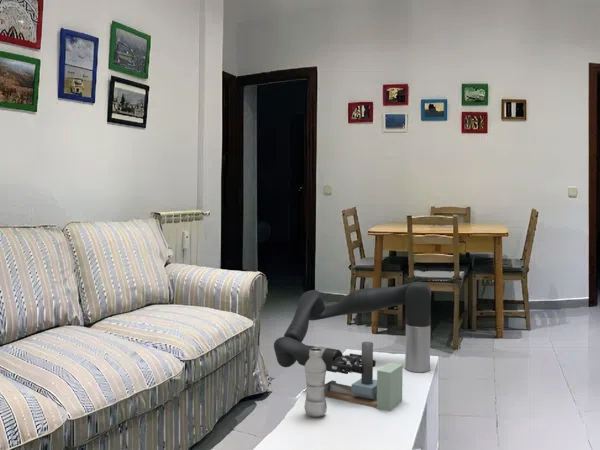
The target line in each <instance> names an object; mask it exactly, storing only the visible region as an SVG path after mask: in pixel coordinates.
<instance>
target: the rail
mask: <svg viewBox="0 0 600 450" xmlns="http://www.w3.org/2000/svg"><path fill="white" fill-rule="evenodd" d="M324 386H325V388H324V389H325V398H331V399H336V400H340V401H343V402H344V401H345V402H349V403H353V404H359V405H363V406H366V407H367V406H368V407H372V408H376V409H377V393H375V398H374V399H372V398H367V397H362V396H358V395H354V392H352V385H346V384H342V383H338V382H337V381H336V380H330V381H328V382H325V385H324Z"/></svg>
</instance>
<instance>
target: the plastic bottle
mask: <svg viewBox="0 0 600 450" xmlns="http://www.w3.org/2000/svg"><path fill="white" fill-rule="evenodd" d="M309 356H310V358H309V359H308V361H307V362H306V364H305V366H304V373H305V375H304V376H305V383H306V387H305V388H306V393H305V399H304V400H305V401H304V411H305V414H306V415H307V416H309V417H313V418H318V417H323V416H325V415H326V413H327V409H328V408H327V405H328V404H327V400H326V396H325V389H324V388H325V386H324V385H325V384H326V381H325V380H326V375H327V371H326V364H325V363H324V361H323V359H322V358H321V356H322V349H319V348H312V349H310V351H309Z"/></svg>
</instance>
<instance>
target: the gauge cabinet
mask: <svg viewBox="0 0 600 450" xmlns="http://www.w3.org/2000/svg"><path fill="white" fill-rule="evenodd" d="M403 368H404V366H403V364H401V363H396V362H391V361H390V362H388V363H386V364H385V365H383V366H382V367H380V368H379V369H378V370H377V371H376V380H377V408H376V409H378V410H383V411H386V412H391V411H392V410H393V409H394V408H396V407H397V406H399V405H400V404H401V403H402V402H403V379H404V378H403V377H404V376H403V373H404V372H403V371H404V370H403Z"/></svg>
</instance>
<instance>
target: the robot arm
mask: <svg viewBox="0 0 600 450" xmlns="http://www.w3.org/2000/svg"><path fill="white" fill-rule="evenodd" d="M431 299H432V290H431V287H430V285H428V284H427V283H426V282H423V281H414V282H413V281H412V282H410V283H406V284H400V285H397V286H388V287H387V286H385V287H384V286H383V287H371V288H360V289H355V290H353V291H351V292H349V293H348V294H346V296H344V298H342V299H341V300H340V301H339V302H337V303H334V304H330V305H325V302H324V298H323V296H322V293H321V292H320V291H319V290H316V289H312V290H308V291H305V292H304V293H302V295H301V296H300V297H299V299H298V300H299V301H298V303H297V307H296V310H295V312H294V315H293V318H292V320H291V323H290V325H288V328H287V329H286V331H285V333H284V335H283V336H281V337H278V338H276V340H275V341H274V343H273V349H274V354H275V356H276V357H275V358H276V362H277V363H278V365H279V366H280V367H282V368H289V367H292V366H293V365H294V364H295V363H296V362H297V363H298V364H299V365H301V366H304V367H305V364H306V362H307V361H308V359H309V358H310V356H309V351H310V349H312V348H319V349H322V356H321V358H322V359H323V361H324V363H325V364H326V372H331V373H341V374H343V375H348V374H349V373H350V374H352V373H356V374H360V375H362V374H363V373H364V367H363V366H362V354H358V353H357V354H356V353H349V354H346V355H344V354H343V353H342V351H341V350H340V349H336V348H331V347H330V348H329V347H325V346H314V345H308V344H305V343H303V341H304V339H305V337H306V335H307V332H308V330H309V324H310V321H320V320H324V319H329V318H333V317H334V318H335V317H340V316H345V315H354V314H355V315H356V314H364V313H373V312H378V311H381V310H385V309H388V308H391V307H394V306H402V305H405V313H404V314H405V354H404V355H405V359H404V360H405V362H404V363H405V366H404V368H405V370H407V371H410V372H412V373H428V372H429V371H430V370H431V325H432V324H431V322H432V321H431V317H432V315H431V308H432V307H431V305H432V304H431V302H432V301H431ZM376 363H377V362H376V360H375V359H373V368H376V366H377V364H376Z"/></svg>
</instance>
